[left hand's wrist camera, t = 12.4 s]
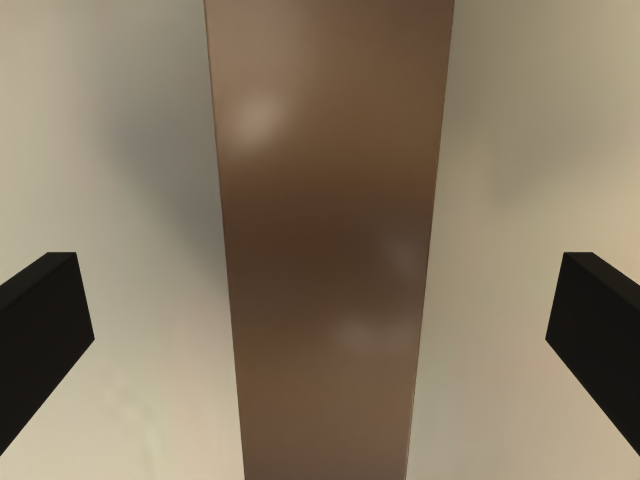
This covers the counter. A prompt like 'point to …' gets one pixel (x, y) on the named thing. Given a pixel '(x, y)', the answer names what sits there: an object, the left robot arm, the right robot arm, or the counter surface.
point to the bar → (327, 222)
